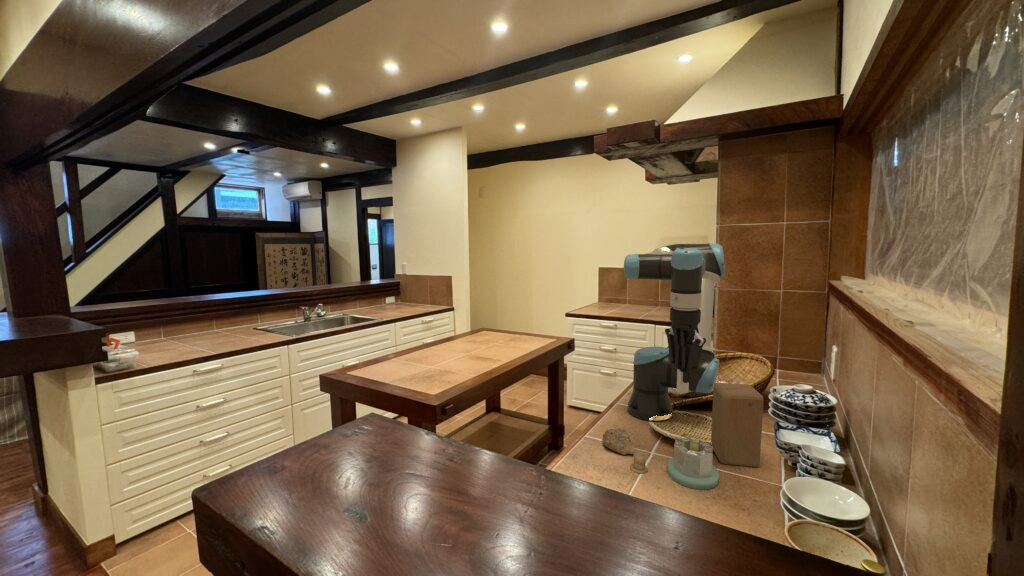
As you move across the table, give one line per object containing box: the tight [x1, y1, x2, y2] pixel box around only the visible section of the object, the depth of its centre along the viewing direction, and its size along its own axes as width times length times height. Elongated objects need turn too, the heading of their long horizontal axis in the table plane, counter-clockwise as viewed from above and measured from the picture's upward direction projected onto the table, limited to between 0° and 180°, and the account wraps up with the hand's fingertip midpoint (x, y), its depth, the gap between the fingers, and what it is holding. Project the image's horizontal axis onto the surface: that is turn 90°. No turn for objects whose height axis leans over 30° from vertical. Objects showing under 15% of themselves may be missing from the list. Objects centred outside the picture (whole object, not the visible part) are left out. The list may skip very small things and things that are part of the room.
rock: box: [602, 428, 636, 456], centre depth 117 cm, size 9×6×10 cm
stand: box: [630, 451, 649, 475], centre depth 106 cm, size 4×4×4 cm
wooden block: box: [710, 382, 764, 468], centre depth 110 cm, size 10×10×20 cm
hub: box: [667, 450, 720, 491], centre depth 102 cm, size 12×12×6 cm
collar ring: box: [673, 436, 714, 479], centre depth 102 cm, size 9×9×6 cm
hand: (682, 392), depth 108 cm, fingers closed
